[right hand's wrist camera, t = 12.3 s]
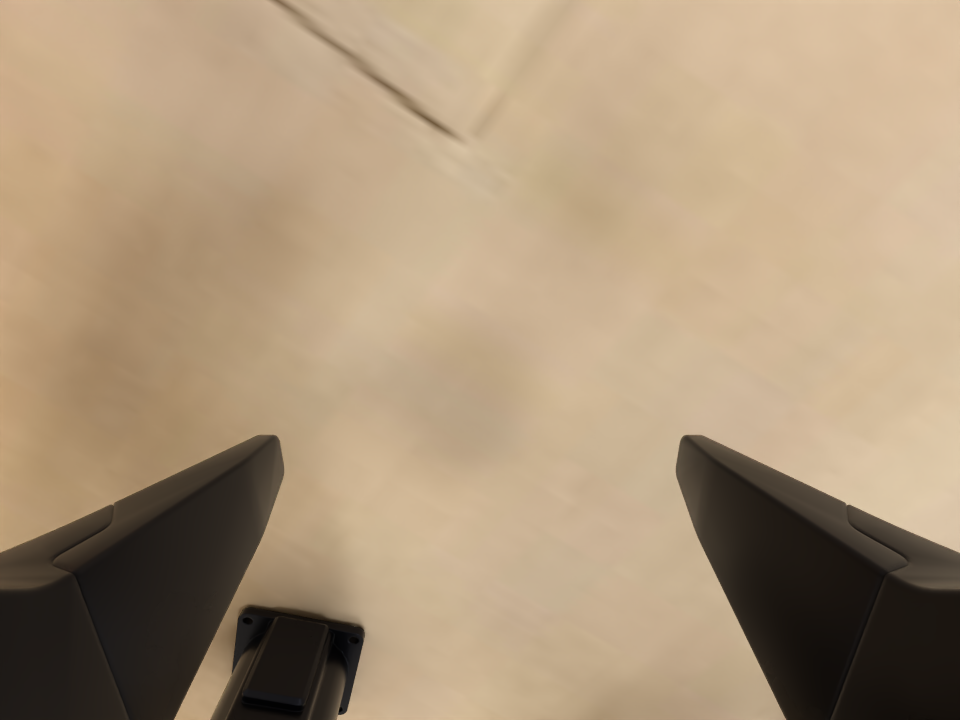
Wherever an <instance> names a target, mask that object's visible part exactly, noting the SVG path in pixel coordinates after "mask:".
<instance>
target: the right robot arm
mask: <svg viewBox="0 0 960 720" xmlns="http://www.w3.org/2000/svg"><path fill="white" fill-rule="evenodd" d="M283 476H284V464H283V458H282V452H281V446H280V441H279V439H278V437H277V436H276V435H258V436H255V437H253V438H251V439H249V440H247V441H245V442H243V443H240V444H238V445H236V446H234V447H232V448H230V449H228V450H226V451H223V452H221V453H219V454H217V455H215V456H213V457H211V458H209V459H206V460H204V461H202V462H200V463H198V464H196V465H194V466H192V467H189V468H187V469H185V470H183V471H181V472H179V473H177V474H175V475H172V476H170V477H168V478H166V479H164V480H162V481H160V482H158V483H156V484H153V485H151V486H149V487H147V488H145V489H143V490H141V491H139V492H136V493H134V494H132V495H130V496H128V497H126V498H124V499H122V500H119V501H117V502H115V503H114V506H113V505H109V506H106V507H104V508H102V509H100V510H98V511H96V512H94V513H92V514H89V515H87V516H85V517H83V518H81V519H78V520H76V521H74V522H72V523H70V524H67V525H65V526H63V527H61V528H58V529H56V530H54V531H51V532H49V533H47V534H44V535H42V536H40V537H37V538H35V539H33V540H30V541H28V542H25V543H23V544H21V545H18V546H16V547H13V548H11V549H9V550H6V551H4V552H1V553H0V720H174V718H175V716H176V714H177V712H178V710H179V708H180V706H181V704H182V702H183V700H184V698H185V696H186V694H187V691H188V689H189V687H190V685H191V683H192V681H193V679H194V677H195V675H196V673H197V671H198V669H199V667H200V665H201V663H202V660H203V658H204V656H205V654H206V652H207V650H208V648H209V646H210V644H211V642H212V640H213V638H214V636H215V634H216V632H217V630H218V627H219V625H220V623H221V621H222V619H223V617H224V615H225V613H226V611H227V609H228V607H229V605H230V603H231V601H232V599H233V597H234V594H235V592H236V590H237V588H238V586H239V584H240V582H241V580H242V578H243V576H244V574H245V572H246V570H247V568H248V566H249V564H250V561H251V559H252V557H253V555H254V553H255V551H256V549H257V547H258V545H259V543H260V541H261V538H262V536H263V534H264V531H265V528H266V526H267V523H268V520H269V517H270V514H271V511H272V509H273V506H274V503H275V500H276V497H277V494H278V491H279V488H280V485H281V482H282V480H283ZM676 476H677V480H678V482H679V485H680V488H681V491H682V494H683V497H684V500H685V503H686V506H687V509H688V511H689V514H690V517H691V520H692V523H693V526H694V528H695V531H696V534H697V536H698V538H699V541H700V543H701V545H702V547H703V549H704V551H705V553H706V555H707V557H708V559H709V561H710V564H711V566H712V568H713V570H714V572H715V574H716V576H717V578H718V580H719V582H720V584H721V586H722V588H723V590H724V592H725V594H726V597H727V599H728V601H729V603H730V605H731V607H732V609H733V611H734V613H735V615H736V617H737V619H738V621H739V623H740V625H741V627H742V630H743V632H744V634H745V636H746V638H747V640H748V642H749V644H750V646H751V648H752V650H753V652H754V654H755V656H756V658H757V661H758V663H759V665H760V667H761V669H762V671H763V673H764V675H765V677H766V679H767V681H768V683H769V685H770V687H771V689H772V691H773V694H774V696H775V698H776V700H777V702H778V704H779V706H780V708H781V710H782V712H783V714H784V716H785V718H786V720H960V553H959V552H956V551H954V550H951V549H949V548H947V547H944V546H942V545H939V544H937V543H935V542H932V541H930V540H927V539H925V538H923V537H920V536H918V535H916V534H913V533H911V532H909V531H906V530H904V529H902V528H899V527H897V526H895V525H893V524H890V523H888V522H886V521H884V520H882V519H879V518H877V517H875V516H873V515H871V514H868V513H866V512H864V511H862V510H860V509H858V508H856V507H853V506H851V505H847V506H846V503H845V502H843V501H841V500H838V499H836V498H834V497H832V496H830V495H828V494H826V493H824V492H821V491H819V490H817V489H815V488H813V487H811V486H809V485H807V484H804V483H802V482H800V481H798V480H796V479H794V478H792V477H790V476H788V475H785V474H783V473H781V472H779V471H777V470H775V469H773V468H771V467H768V466H766V465H764V464H762V463H760V462H758V461H756V460H754V459H751V458H749V457H747V456H745V455H743V454H741V453H739V452H737V451H734V450H732V449H730V448H728V447H726V446H724V445H722V444H720V443H717V442H715V441H713V440H711V439H709V438H707V437H705V436H702V435H684V436H683V437H682V439H681V441H680V446H679V452H678V458H677V464H676ZM364 637H365V632H364V631H363V630H362V629H361V628H359V627H354V626H349V625H344V624H338V623H333V622H327V621H322V620H317V619H311V618H306V617H300V616H295V615H290V614H284V613H279V612H273V611H268V610H263V609H257V608H251V607H248V608H245V609H243V610H242V612H241V614H240V616H239V618H238V625H237V634H236V643H235V652H234V661H233V670H232V676H231V678H230V680H229V682H228V684H227V686H226V688H225V690H224V692H223V694H222V696H221V699H220V701H219V703H218V705H217V707H216V709H215V711H214V713H213V715H212V717H211V719H210V720H337V716H338V715H342V714H344V713H346V711H347V708H348V704H349V700H350V696H351V692H352V687H353V683H354V679H355V675H356V671H357V667H358V662H359V658H360V654H361V650H362V646H363V641H364Z"/></svg>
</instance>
